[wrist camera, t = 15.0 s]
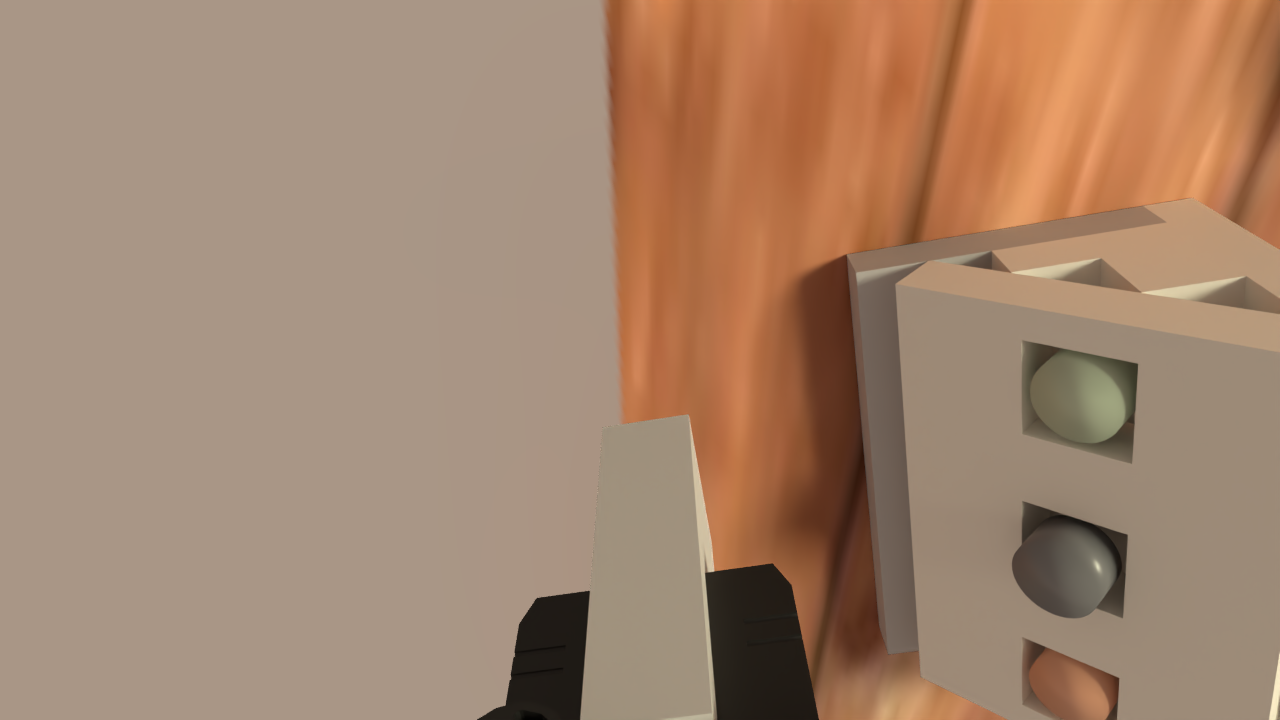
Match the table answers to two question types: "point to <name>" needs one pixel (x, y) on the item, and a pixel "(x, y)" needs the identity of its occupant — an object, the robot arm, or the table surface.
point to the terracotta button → (1073, 687)
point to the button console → (1079, 455)
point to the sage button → (1084, 395)
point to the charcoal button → (1066, 566)
